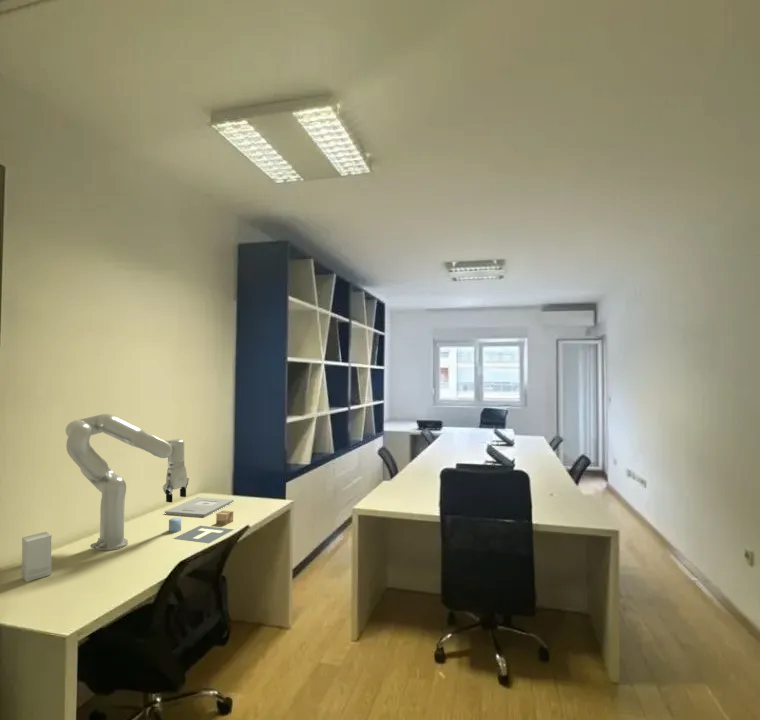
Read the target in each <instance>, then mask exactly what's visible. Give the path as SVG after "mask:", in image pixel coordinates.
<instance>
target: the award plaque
mask: <svg viewBox="0 0 760 720" xmlns="http://www.w3.org/2000/svg"><path fill="white" fill-rule="evenodd" d="M232 502H234V499H226V498H225V499H224V498H213V497H195V498H192V499H190V500H188V501H186V502H183V503H181V504H178V505H177V506H176V505H175V506H174V507H172V508H170V509H167V510H164V514H165V513H166V514H165V515H167V514H174V515H173V516H179V515H183V516H184V517H191V516H194V518H203V517H204V518H206V517H208V516H211V515H212V514H214V513H216V512H218V511H220V510H222V509H224V508H226V507H227V506H226V505H228V506H230V505H231V504H230V503H232ZM229 504H230V505H229ZM232 504H233V503H232ZM225 506H226V507H225ZM223 507H224V508H223ZM221 508H222V509H221ZM219 509H220V510H219ZM217 510H218V511H217ZM215 511H216V512H215ZM213 512H214V513H213Z"/></svg>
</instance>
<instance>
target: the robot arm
mask: <svg viewBox="0 0 760 720" xmlns="http://www.w3.org/2000/svg"><path fill="white" fill-rule="evenodd" d="M102 433H103V434H106V435H108V436H110V437H112V438H114V439H116V440H118V441H121V442H122V443H124V444H127V445H129V446H131V447H135V448H138V449H140V450H142V451H145V452H147V453H149V454H151V455H153V456H155V457H158V458H159V459H167V471H166V478H165V483H164V485H162V490H163V493H164V494H165V502H166V503H173V491H174V490H178V489H179V496H180V497H182V498H186V497H187V489H188V485H189V481H190V478H189V477H188V476H187V475H188V474H187V473H188V472H187V468H186V466H185V441H184V439H182V438H180V439H179V438H175V439H170V440H164V439H161V438H159V437H157V436H155V435H153V434H151V433H149V432H147V431H145V430H143V429H141V428H140V427H138V426H136V425H134V424H131V423H130V422H127V421H126V420H125V419H122V418H119V417H118V416H115V415H113V414H109V413H101V414H98V415H93V416H89V417H84V418H79V419H75V420H73V421H70V422H69V423H68V424H67V425H66V427H65V434H66V436H67V439H66V451H67V454H68V456H69V457H70V458H71V460H72V461H73V462H74V463H75V464H76V465H77V467H78V468H79V469H80V472H81V473H82V475H83V476H84V477H85V479H87V480H88V481H89V482H90V483H91V484H92V485H93V486H94V487H95V488H96V489H97V490H98V491H99V492H101V500H100V508H99V509H100V510H99V511H100V514H99V515H100V516H99V517H100V519H99V520H100V523H99V528H100V529H99V537H98V538H97V541H96V542H93V543H91V544H90V548H91V549H96V550H97V551H113V549H114V550H117V548H118V549H121V548H124V547H125V546H127V545H128V544H127V543H129V541H128V539H126V538H125V501H126V493H127V483H126V481H125V479H124V478H123V477H121V476H120V475H118V474H116V473H115V472H114V470H112V469H111V467H110V466H109V464H108V462H107V461H106V460H104V458H102V457H101V455H99V454H98V453H97V451H95V449H94V448H93V447H92V446H91V443H90V438H91V437H92V436H95V435H98V434H102ZM126 544H127V545H126ZM123 546H124V547H123ZM120 547H121V548H120Z"/></svg>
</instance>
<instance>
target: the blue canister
mask: <svg viewBox="0 0 760 720" xmlns="http://www.w3.org/2000/svg"><path fill="white" fill-rule="evenodd" d="M181 530H182V518H180V517H173V518H170V519H168V533H178V532H181Z"/></svg>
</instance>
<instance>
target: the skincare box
mask: <svg viewBox="0 0 760 720" xmlns="http://www.w3.org/2000/svg"><path fill="white" fill-rule="evenodd" d="M21 541H22V543H21V546H22V547H21V558H22V559H21V566H22V567H21V577H22V579H23V580H24V581H25V582H26V583H30V582H31V581H35V580H38V579H42V578H45V577H49V576H51V575H52V534H50V533H49V532H47V531H44V532H40V533H36V534H32V535H28V536H24V537H23V536H22V538H21Z"/></svg>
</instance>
